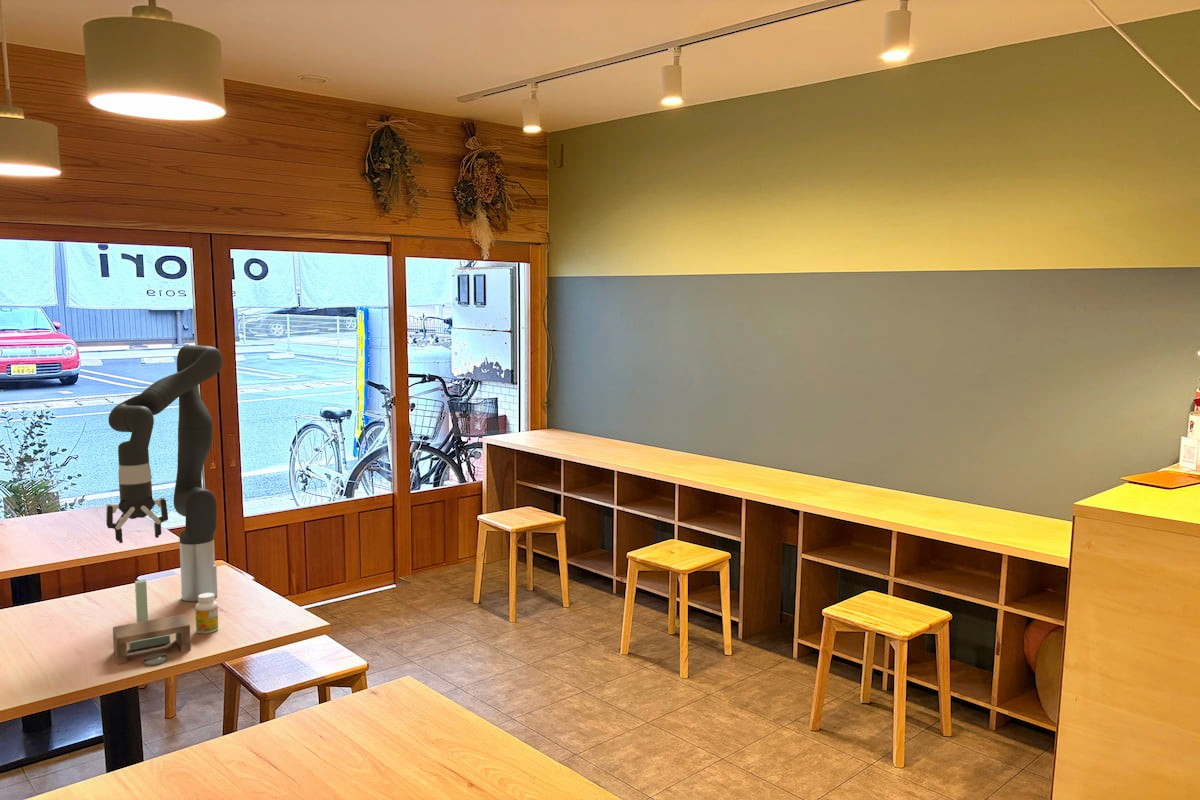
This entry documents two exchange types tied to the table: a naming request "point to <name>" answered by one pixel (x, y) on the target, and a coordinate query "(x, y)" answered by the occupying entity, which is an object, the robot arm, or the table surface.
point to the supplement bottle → (206, 613)
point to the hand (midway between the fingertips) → (138, 539)
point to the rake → (144, 618)
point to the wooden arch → (150, 633)
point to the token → (155, 659)
